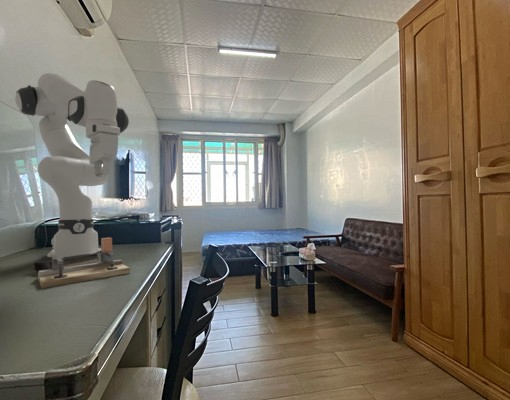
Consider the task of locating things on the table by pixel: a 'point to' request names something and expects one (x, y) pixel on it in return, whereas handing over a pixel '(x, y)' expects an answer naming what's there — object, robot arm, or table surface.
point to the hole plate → (78, 272)
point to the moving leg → (107, 251)
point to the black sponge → (68, 261)
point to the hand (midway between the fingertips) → (102, 175)
